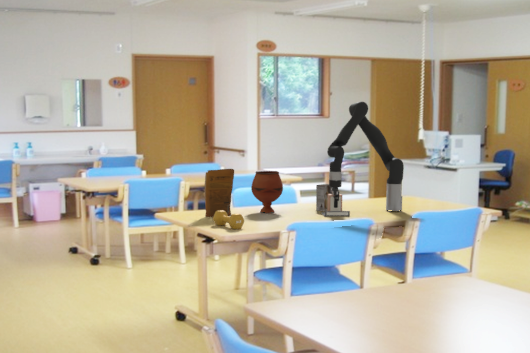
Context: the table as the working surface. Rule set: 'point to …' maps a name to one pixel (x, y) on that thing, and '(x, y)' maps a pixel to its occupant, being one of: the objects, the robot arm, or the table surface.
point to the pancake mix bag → (218, 191)
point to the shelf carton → (331, 203)
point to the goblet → (267, 188)
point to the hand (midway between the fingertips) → (334, 206)
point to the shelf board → (336, 213)
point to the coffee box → (322, 196)
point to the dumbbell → (228, 219)
